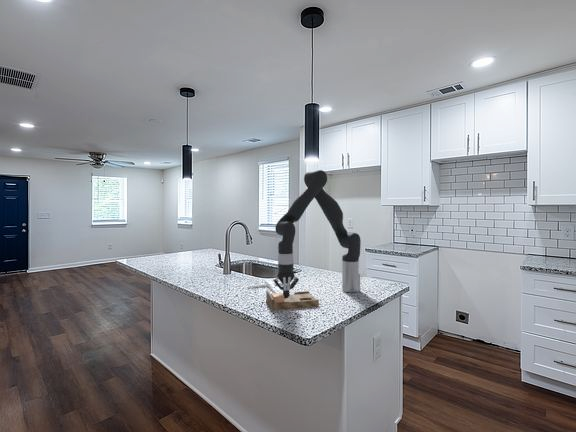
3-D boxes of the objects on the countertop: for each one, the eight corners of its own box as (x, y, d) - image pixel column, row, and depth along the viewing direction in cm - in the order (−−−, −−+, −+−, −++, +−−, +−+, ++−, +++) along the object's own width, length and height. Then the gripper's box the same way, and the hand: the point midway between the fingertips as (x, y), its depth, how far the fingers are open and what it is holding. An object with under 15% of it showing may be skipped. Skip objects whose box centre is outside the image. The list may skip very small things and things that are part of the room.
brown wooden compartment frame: (308, 296, 163) (308, 287, 163) (318, 305, 148) (318, 295, 148) (266, 300, 158) (266, 290, 158) (272, 310, 142) (272, 299, 142)
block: (282, 300, 150) (281, 292, 149) (284, 304, 145) (284, 295, 144) (272, 302, 148) (271, 293, 148) (274, 305, 143) (273, 296, 143)
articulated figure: (258, 295, 158) (244, 279, 186) (258, 302, 158) (244, 285, 186) (305, 289, 168) (286, 275, 196) (305, 296, 168) (286, 281, 196)
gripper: (296, 260, 153) (297, 294, 153) (270, 261, 150) (271, 296, 150) (301, 263, 146) (301, 298, 146) (273, 264, 142) (274, 301, 143)
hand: (286, 297), depth 148 cm, fingers closed
